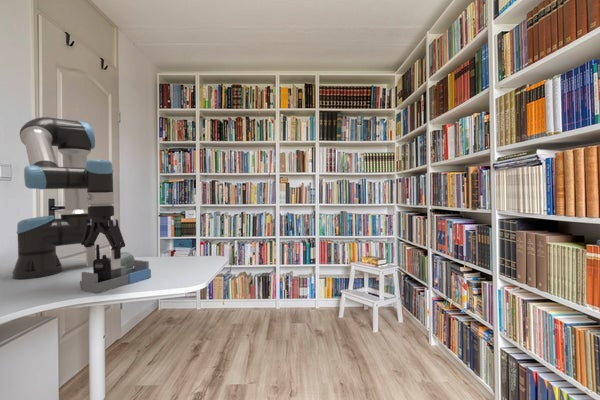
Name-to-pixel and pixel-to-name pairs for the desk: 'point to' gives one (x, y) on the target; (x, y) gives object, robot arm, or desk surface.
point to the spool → (126, 260)
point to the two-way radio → (102, 266)
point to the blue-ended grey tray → (116, 277)
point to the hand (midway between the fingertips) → (103, 267)
